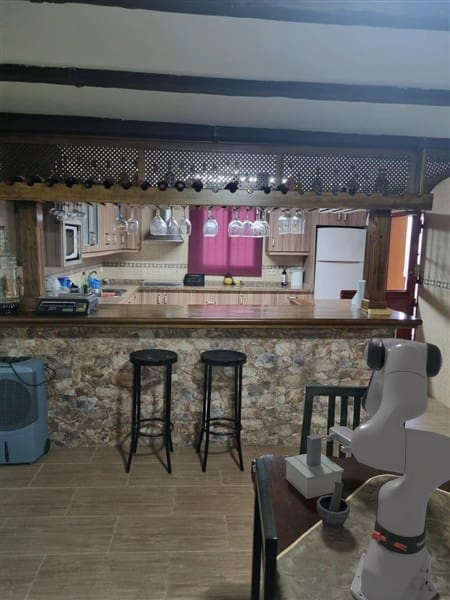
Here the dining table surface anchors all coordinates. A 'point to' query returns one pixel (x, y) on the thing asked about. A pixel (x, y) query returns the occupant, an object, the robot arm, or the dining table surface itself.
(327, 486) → the tub
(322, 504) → the mortar and pestle
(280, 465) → the dining table surface
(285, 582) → the dining table surface
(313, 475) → the lid
